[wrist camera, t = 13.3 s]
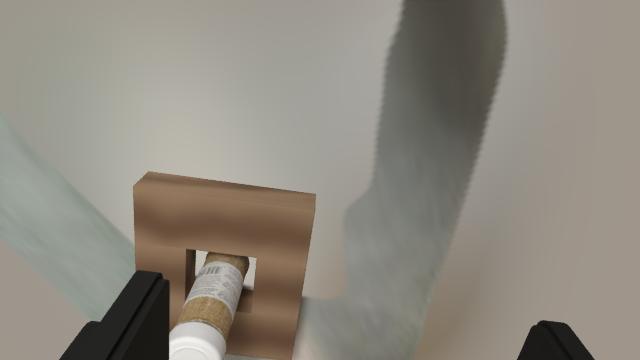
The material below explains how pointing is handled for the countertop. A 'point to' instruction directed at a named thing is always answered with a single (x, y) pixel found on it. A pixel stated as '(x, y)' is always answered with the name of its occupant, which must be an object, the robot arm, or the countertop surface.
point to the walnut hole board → (229, 250)
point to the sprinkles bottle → (209, 309)
